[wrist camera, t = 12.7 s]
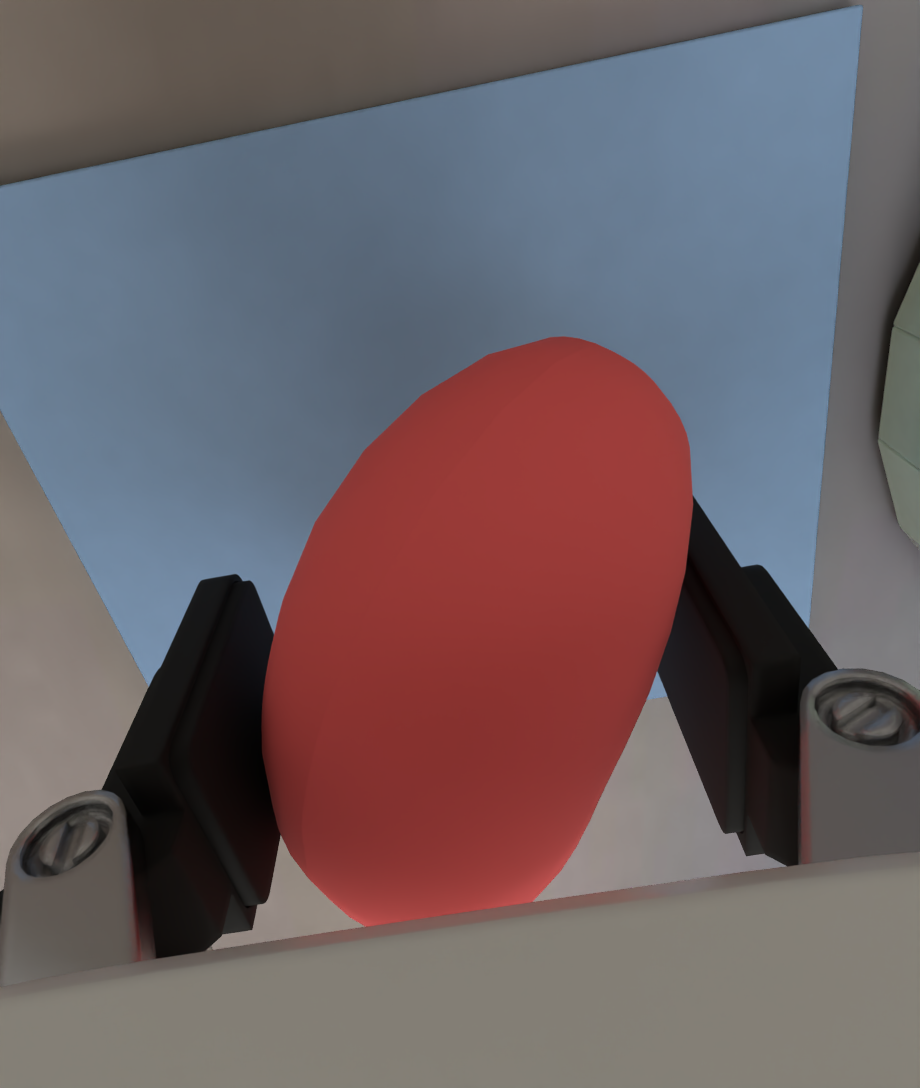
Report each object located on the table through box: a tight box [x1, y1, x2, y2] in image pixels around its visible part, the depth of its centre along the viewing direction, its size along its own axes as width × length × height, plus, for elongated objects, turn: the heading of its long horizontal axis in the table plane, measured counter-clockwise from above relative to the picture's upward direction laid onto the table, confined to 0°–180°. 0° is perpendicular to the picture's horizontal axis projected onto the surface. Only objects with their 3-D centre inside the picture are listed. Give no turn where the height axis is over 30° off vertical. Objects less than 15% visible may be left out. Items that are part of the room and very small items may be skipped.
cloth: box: [0, 5, 863, 700], centre depth 16 cm, size 14×16×1 cm
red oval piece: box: [261, 336, 693, 927], centre depth 11 cm, size 5×9×6 cm, turn 154°
